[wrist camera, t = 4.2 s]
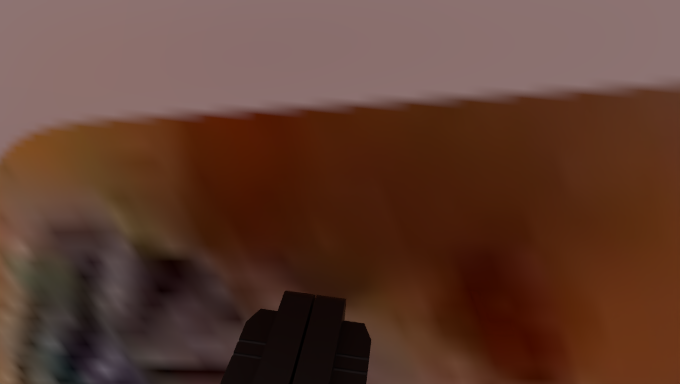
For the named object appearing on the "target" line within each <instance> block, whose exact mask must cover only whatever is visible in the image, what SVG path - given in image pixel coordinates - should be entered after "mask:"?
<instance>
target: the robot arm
mask: <svg viewBox="0 0 680 384" xmlns="http://www.w3.org/2000/svg"><path fill="white" fill-rule="evenodd" d="M345 308H346V299H342V298H335V297H328V296H321V295H317V296H316V299H315V295H313V294H305V293H298V292H291V291H285V292H284V295H283V297H282V300H281V303H280V306H279V309H278V311H273V310H266V309H260V310H259V311H258V312H257V313H255V314H254V315H253V316H252V317H251V318H250V319H249V320H248V321H247V322H246V324H245V326H244V329H243V331H242V333H241V336H240V338H239V342H238V343H237V345H236V348H235V350H234V354H233V355H232V357H231V360H230V362H229V364H228V367H227V369H226V372H225V374H224V376H223V379H222V381H221V384H366V381H367V372H368V364H369V355H370V347H371V338H370V336H369V333H368V331H367V329H366V326H365V324H364V323H357V322H350V321H344V319H345Z"/></svg>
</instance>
